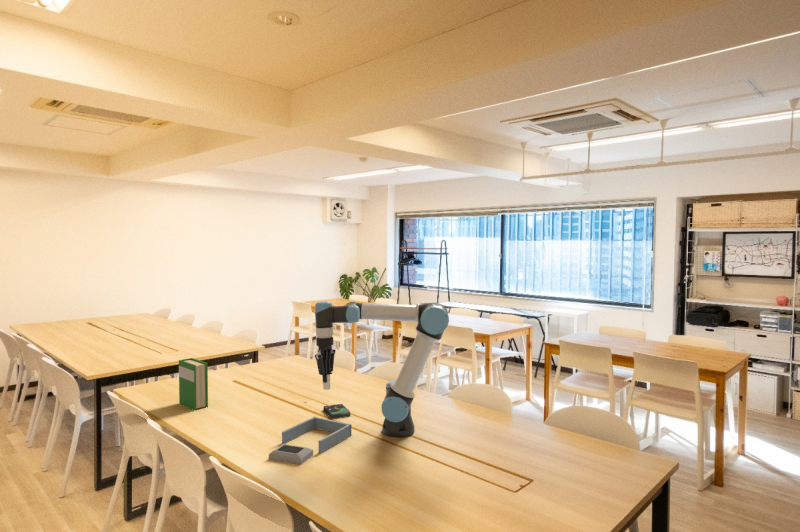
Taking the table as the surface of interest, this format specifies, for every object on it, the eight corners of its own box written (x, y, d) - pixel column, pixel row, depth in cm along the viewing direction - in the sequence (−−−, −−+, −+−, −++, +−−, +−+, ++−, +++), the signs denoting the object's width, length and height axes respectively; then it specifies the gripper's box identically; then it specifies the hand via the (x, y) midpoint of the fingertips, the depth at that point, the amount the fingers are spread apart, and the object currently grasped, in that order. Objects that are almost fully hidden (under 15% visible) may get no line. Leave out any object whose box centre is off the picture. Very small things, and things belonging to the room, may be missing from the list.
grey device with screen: (301, 456, 195) (268, 451, 200) (301, 465, 195) (268, 460, 200) (313, 447, 204) (281, 442, 209) (313, 455, 204) (281, 450, 209)
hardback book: (208, 407, 264) (207, 362, 263) (194, 410, 259) (193, 365, 258) (192, 400, 276) (192, 357, 275) (179, 403, 270) (178, 360, 269)
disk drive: (323, 411, 260) (331, 419, 247) (322, 406, 260) (331, 414, 247) (341, 408, 265) (351, 416, 251) (341, 403, 265) (351, 411, 251)
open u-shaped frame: (351, 435, 226) (351, 424, 225) (320, 453, 206) (320, 441, 206) (314, 426, 236) (314, 416, 236) (282, 443, 216) (281, 431, 216)
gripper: (326, 333, 226) (328, 384, 227) (308, 338, 214) (311, 392, 215) (339, 334, 223) (341, 386, 223) (323, 339, 211) (325, 394, 212)
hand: (326, 389), depth 219 cm, fingers closed
